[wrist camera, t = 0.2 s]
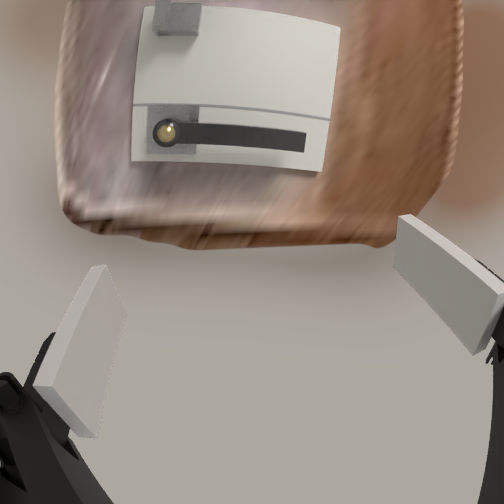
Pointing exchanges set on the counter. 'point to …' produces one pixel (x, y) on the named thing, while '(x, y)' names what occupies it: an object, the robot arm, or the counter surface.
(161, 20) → the keeper
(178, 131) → the latch bar
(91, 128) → the counter surface
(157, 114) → the grey latch pivot mount
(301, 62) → the door board
